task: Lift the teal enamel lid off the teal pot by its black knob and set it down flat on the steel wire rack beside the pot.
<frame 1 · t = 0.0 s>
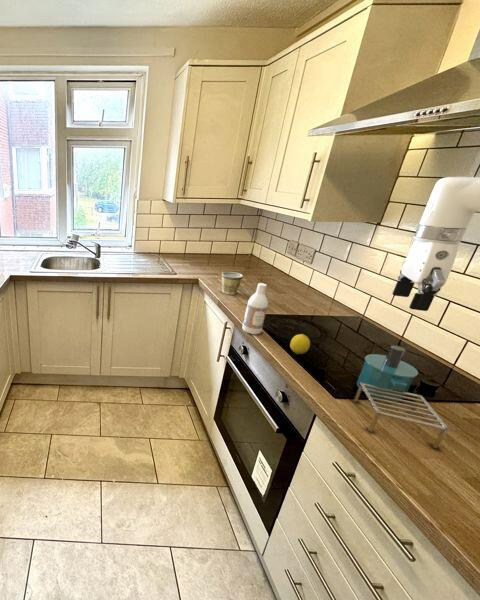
hand: (408, 302, 79), 30 cm above the worktop, tool pointing down, fingers open, 9 cm apart
pot: (379, 390, 93), on the worktop
lemon: (296, 354, 112), on the worktop
ceramic cup: (231, 293, 167), on the worktop
rack: (391, 422, 81), on the worktop
lid: (389, 366, 90), point 8 cm above the worktop, touching pot
bath foam: (251, 331, 128), on the worktop
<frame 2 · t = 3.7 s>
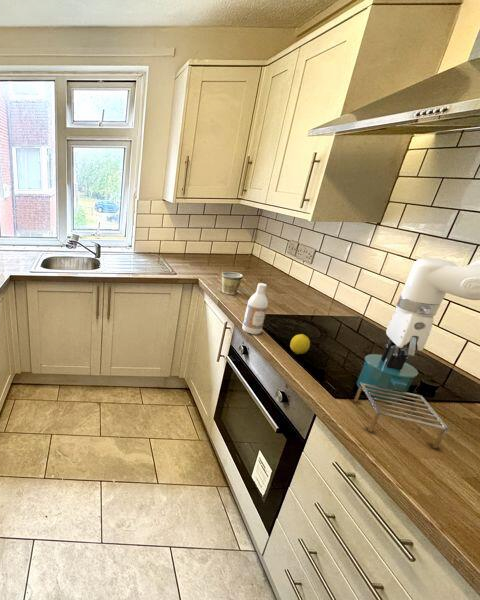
hand: (390, 364, 90), 9 cm above the worktop, tool pointing down, fingers closed on lid, 3 cm apart
lid: (389, 366, 90), point 9 cm above the worktop, touching gripper, pot
everything else where it was.
when the fingers open (7 cm above the worktop, at t = 10.5 s): lid stays where it is, resting on rack.
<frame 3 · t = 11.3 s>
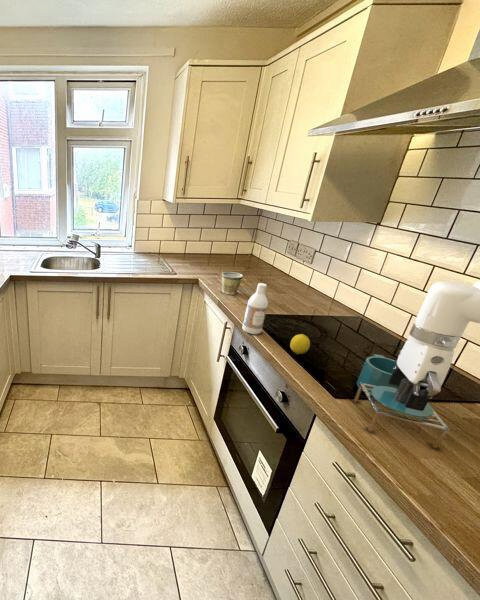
hand: (404, 396, 78), 8 cm above the worktop, tool pointing down, fingers open, 9 cm apart
lid: (400, 401, 79), point 7 cm above the worktop, touching rack
everything else where it was.
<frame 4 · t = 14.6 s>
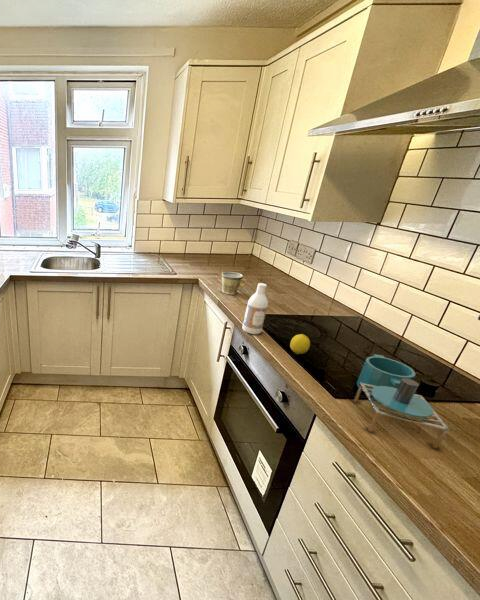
nothing on the worktop moved.
at the end: lid 0.1 cm off-centre on the rack, point 6.6 cm above the rack's base; lid tilted 0°; lid touching rack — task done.
